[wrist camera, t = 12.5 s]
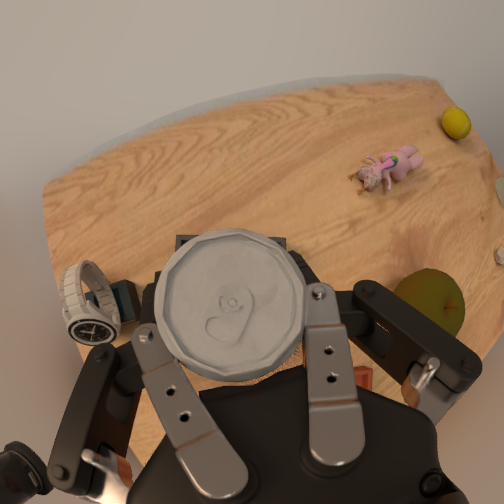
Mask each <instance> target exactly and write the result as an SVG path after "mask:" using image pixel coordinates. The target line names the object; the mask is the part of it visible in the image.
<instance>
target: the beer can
mask: <svg viewBox="0 0 504 504" xmlns="http://www.w3.org/2000/svg"><path fill="white" fill-rule="evenodd" d="M154 313H155V318H156V322H157V326H158V330H159V333H160V335H161V337H162V339H163V341H164V342H165V344H166V346H167V348H168V349H169V351H170V352H171V353H172V354H173V355H174V356H175V357H176V358H177V359H178V360H179V361H180V362H181V363H182V364H183V365H184V366H185V367H186V368H188V369H190V370H192V371H193V372H195V373H197V374H198V375H200V376H203V377H206V378H210V379H213V380H216V381H224V382H243V381H247V380H251V379H255V378H259V377H262V376H264V375H266V374H267V373H269V372H271V371H273V370H275V369H276V368H278V367H279V366H280V365H282V364H283V363H284V362H285V361H286V360H287V359H288V358H289V357H290V356H291V355H292V354H293V353H294V351H295V350H296V348H297V346H298V344H299V343H300V341H301V339H302V337H303V335H304V332H305V326H306V325H307V322H308V318H309V294H308V289H307V286H306V283H305V279H304V276H303V274H302V273H301V271H300V269H299V267H298V266H297V264H296V262H295V261H294V259H293V258H292V257H291V255H290V254H289V253H288V252H287V251H286V250H285V249H284V248H283V247H281V246H280V245H279V244H278V243H276V242H275V241H273V240H271V239H269V238H268V237H266V236H264V235H261V234H258V233H255V232H252V231H249V230H245V229H232V228H227V229H220V230H215V231H210V232H206V233H203V234H201V235H199V236H197V237H195V238H193V239H191V240H189V241H188V242H187V243H185V244H184V245H183V246H181V247H180V248H179V249H178V250H177V251H176V252H175V253H174V254H173V255H172V256H171V258H170V259H169V261H168V262H167V264H166V265H165V267H164V269H163V270H162V272H161V275H160V277H159V280H158V283H157V286H156V290H155V299H154Z"/></svg>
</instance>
